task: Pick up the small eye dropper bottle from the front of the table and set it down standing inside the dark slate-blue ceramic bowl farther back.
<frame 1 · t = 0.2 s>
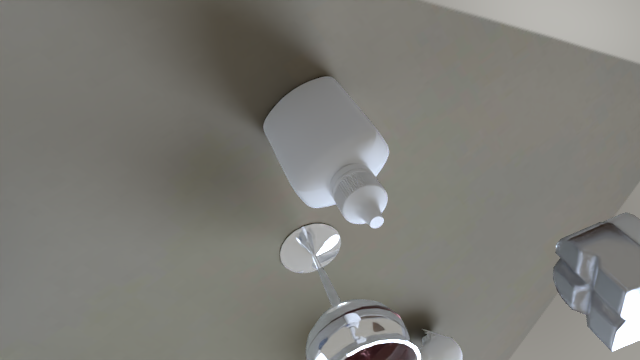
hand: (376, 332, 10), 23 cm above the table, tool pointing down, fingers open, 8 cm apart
eye dropper bottle: (302, 108, 34), on the table
wineglass: (310, 247, 41), on the table
white lumpy figure: (391, 347, 52), on the table
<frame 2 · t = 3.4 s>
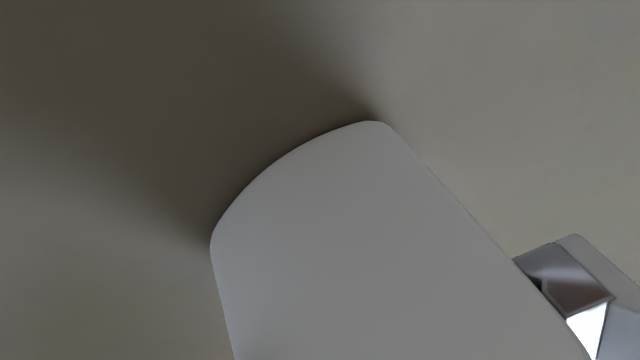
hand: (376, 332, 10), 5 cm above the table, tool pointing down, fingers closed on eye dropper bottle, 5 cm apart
eye dropper bottle: (306, 194, 14), on the table, touching gripper
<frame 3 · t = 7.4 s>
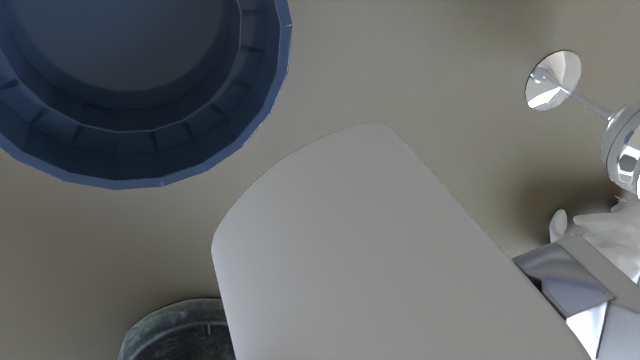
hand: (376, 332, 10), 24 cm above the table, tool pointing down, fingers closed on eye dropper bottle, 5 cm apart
eye dropper bottle: (308, 195, 14), point 20 cm above the table, touching gripper
wineglass: (551, 80, 41), on the table
decorative bowl: (192, 355, 45), on the table
white lumpy figure: (580, 217, 52), on the table
blue bowl: (124, 9, 28), on the table
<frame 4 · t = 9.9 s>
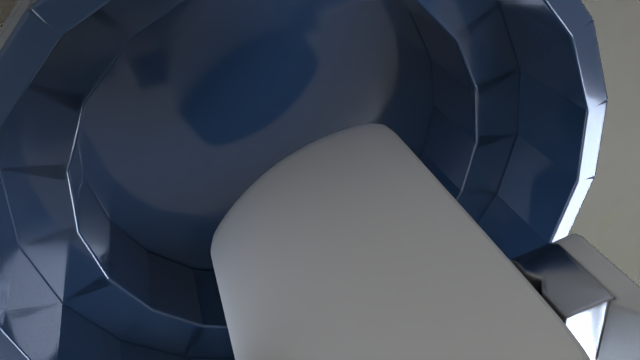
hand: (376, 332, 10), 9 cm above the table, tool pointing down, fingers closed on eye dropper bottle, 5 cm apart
eye dropper bottle: (307, 196, 14), point 4 cm above the table, touching gripper
blue bowl: (267, 128, 17), on the table
when the fingers open (5 cm above the table, at t = 11.5 s): eye dropper bottle stays where it is, resting on blue bowl.
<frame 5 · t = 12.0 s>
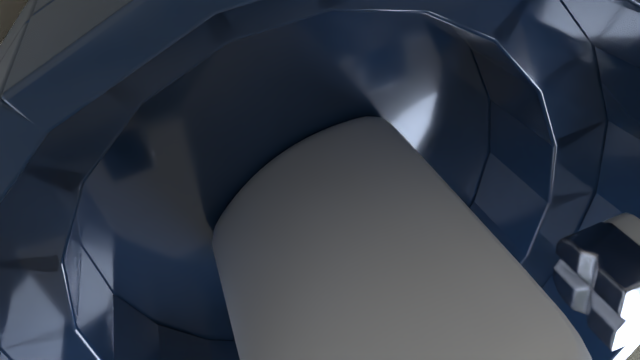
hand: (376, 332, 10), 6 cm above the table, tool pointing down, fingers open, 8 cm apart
eye dropper bottle: (307, 189, 14), resting on blue bowl
blue bowl: (298, 181, 15), on the table
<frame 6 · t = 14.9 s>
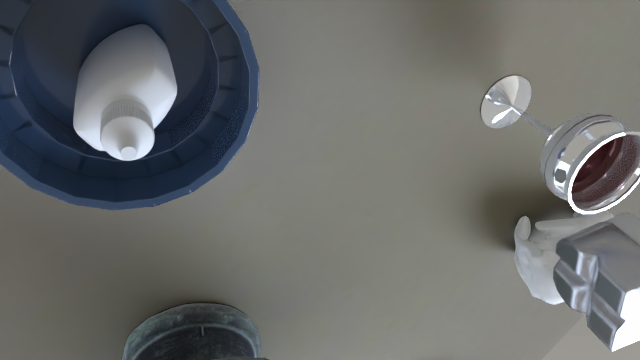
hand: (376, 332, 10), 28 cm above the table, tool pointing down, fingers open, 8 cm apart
eye dropper bottle: (123, 59, 33), resting on blue bowl
wineglass: (504, 101, 46), on the table
decorative bowl: (189, 355, 50), on the table
white lumpy figure: (544, 223, 57), on the table
blue bowl: (120, 57, 34), on the table
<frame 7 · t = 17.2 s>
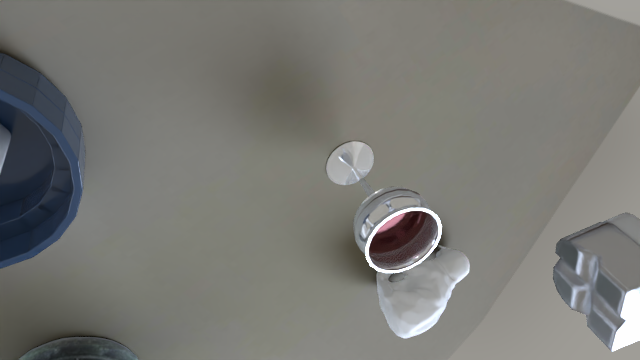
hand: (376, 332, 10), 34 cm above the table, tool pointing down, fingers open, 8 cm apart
wineglass: (349, 162, 52), on the table
white lumpy figure: (410, 261, 63), on the table
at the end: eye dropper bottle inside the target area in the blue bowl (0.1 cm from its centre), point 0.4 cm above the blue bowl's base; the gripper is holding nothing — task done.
